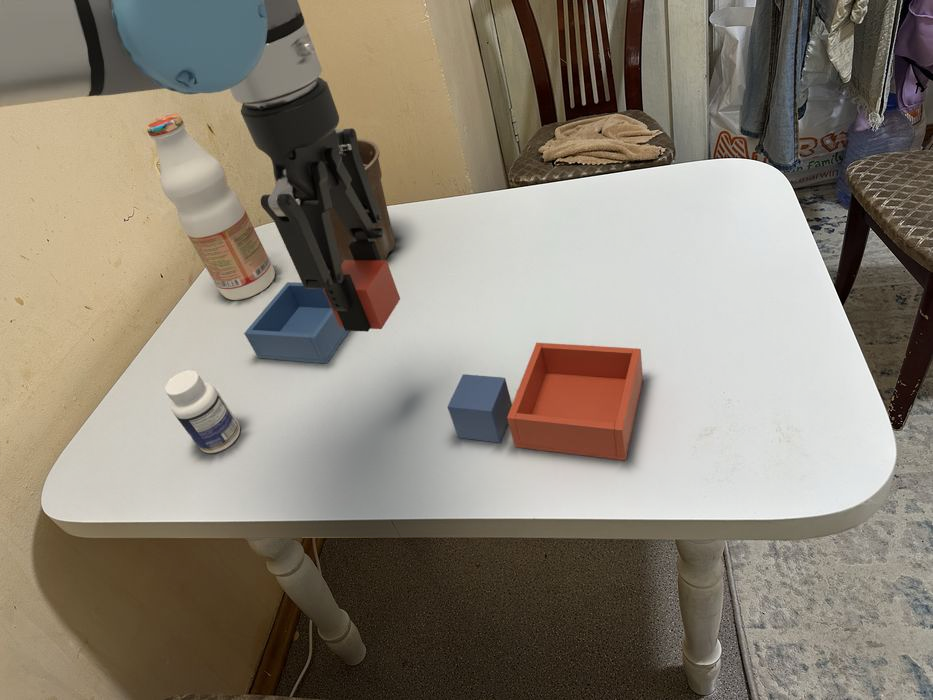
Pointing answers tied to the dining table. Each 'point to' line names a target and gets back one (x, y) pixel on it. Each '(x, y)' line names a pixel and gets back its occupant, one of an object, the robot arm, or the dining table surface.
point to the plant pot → (342, 237)
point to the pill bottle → (202, 412)
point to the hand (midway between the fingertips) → (369, 310)
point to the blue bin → (296, 327)
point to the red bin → (578, 400)
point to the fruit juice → (210, 212)
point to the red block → (372, 289)
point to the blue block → (480, 407)
